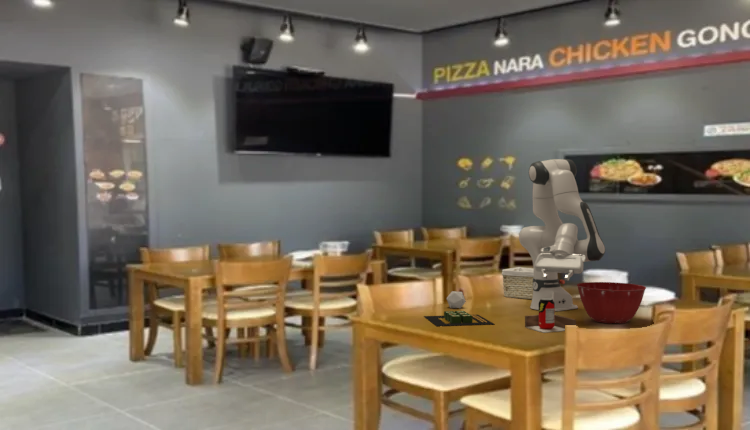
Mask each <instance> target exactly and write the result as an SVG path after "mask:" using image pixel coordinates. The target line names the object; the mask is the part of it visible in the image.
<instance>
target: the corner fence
mask: <svg viewBox="0 0 750 430" xmlns="http://www.w3.org/2000/svg"><path fill="white" fill-rule="evenodd" d="M565 325H576V326H577V319H574V318H570V317H567V316H562V315H558V314H555V323H554V327H553V328H552V329H541V328H540V327H539V314H533V315H531V314H530V315H525V316H524V327H525V328H526V329H529V330H533V331H535V332H539V333H543V334H545V333H553V332H554V333H555V332H566V331H565Z"/></svg>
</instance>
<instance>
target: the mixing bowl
mask: <svg viewBox="0 0 750 430" xmlns="http://www.w3.org/2000/svg"><path fill="white" fill-rule="evenodd" d="M576 286H577V289H578V294H579V297H580V301H581V303H582V305H583V309H584V310H585V311H586V314H587V315H588V316H589V318H591V319H592V320H593V321H594V322H598V323H601V324H602V323H603V324H612V323H619V324H626V323H628V322H629V321H630V320H632V319H633V318H634V317H635V316H636V314H637V312H638V310H639V308H640V307H641V304H642V301H643V298H644V295H645V291H646V289H647V287H646V286H645V285H641V284H636V283H626V282H610V281H593V282H592V281H591V282H590V281H588V282H587V281H586V282H580V283H577V284H576Z"/></svg>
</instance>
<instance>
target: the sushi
mask: <svg viewBox="0 0 750 430" xmlns="http://www.w3.org/2000/svg"><path fill="white" fill-rule="evenodd" d="M423 318H425V319H426V320H427V319H428V320H427V321H429V322H430V323H431V324H433V325H434V326H435V327H437V328H438V327H439V328H440V326H442V327H461V326H462V327H463V326H464V327H465V326H466V327H467V326H495V324H496V323H493V321H490V320H488V319H487V318H485V317H483V316H482V315H480V314H470V313H469V312H466V310H448V311H447V310H445V311H443V315H424V316H423ZM444 318H445V320H446V321H447V320H448V321H447V323H445V322H444V321H442V320H441V319H444ZM473 321H476V322H473ZM448 322H449V323H448Z"/></svg>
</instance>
